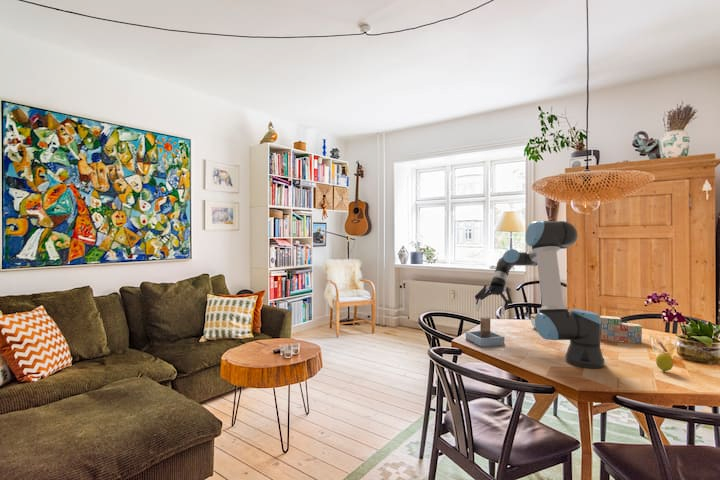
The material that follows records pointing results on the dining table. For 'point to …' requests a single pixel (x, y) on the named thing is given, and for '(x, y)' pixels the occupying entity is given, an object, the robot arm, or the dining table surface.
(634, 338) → the stack of blocks
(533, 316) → the lidded jar
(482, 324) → the brown rectangular block
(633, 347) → the dining table surface
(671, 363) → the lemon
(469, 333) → the bin
